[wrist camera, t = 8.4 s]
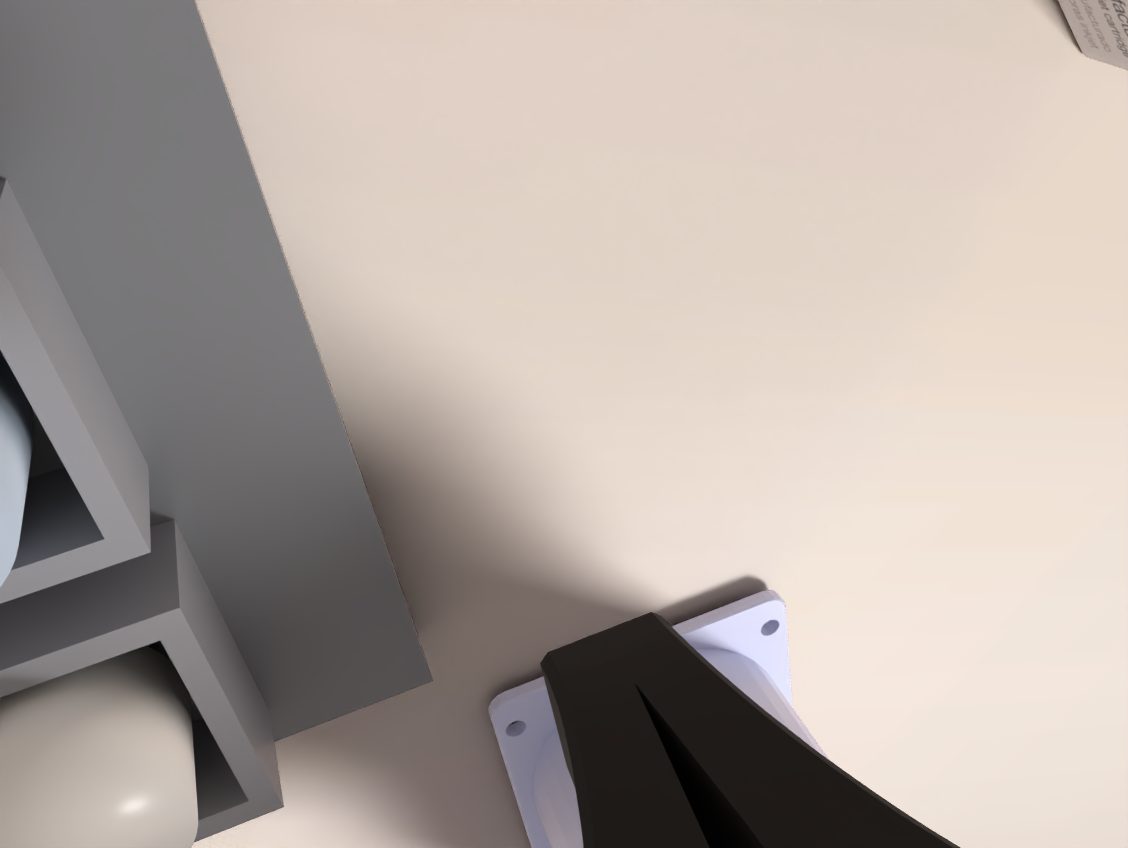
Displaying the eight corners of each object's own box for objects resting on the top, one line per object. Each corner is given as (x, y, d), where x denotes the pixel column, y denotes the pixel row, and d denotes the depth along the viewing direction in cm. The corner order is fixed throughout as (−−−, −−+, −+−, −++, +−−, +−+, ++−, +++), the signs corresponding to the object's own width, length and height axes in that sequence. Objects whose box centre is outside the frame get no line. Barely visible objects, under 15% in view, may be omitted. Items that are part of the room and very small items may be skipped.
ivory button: (218, 739, 20) (229, 859, 18) (27, 812, 20) (15, 945, 18) (146, 607, 18) (148, 724, 16) (-69, 683, 18) (-98, 815, 16)
